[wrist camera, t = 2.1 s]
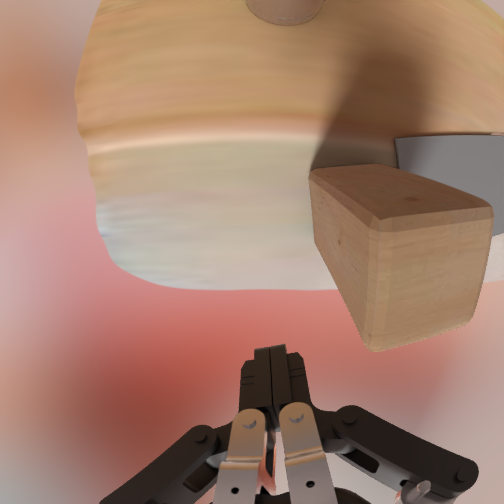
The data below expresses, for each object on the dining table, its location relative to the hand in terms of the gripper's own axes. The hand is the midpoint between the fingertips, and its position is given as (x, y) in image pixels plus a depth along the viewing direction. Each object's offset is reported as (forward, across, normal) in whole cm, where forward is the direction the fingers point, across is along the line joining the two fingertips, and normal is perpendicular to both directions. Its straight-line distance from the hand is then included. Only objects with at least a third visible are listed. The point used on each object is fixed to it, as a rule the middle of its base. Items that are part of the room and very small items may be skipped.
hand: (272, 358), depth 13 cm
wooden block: (+23, -11, 0) cm, 25 cm away
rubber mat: (+22, -32, +1) cm, 39 cm away
